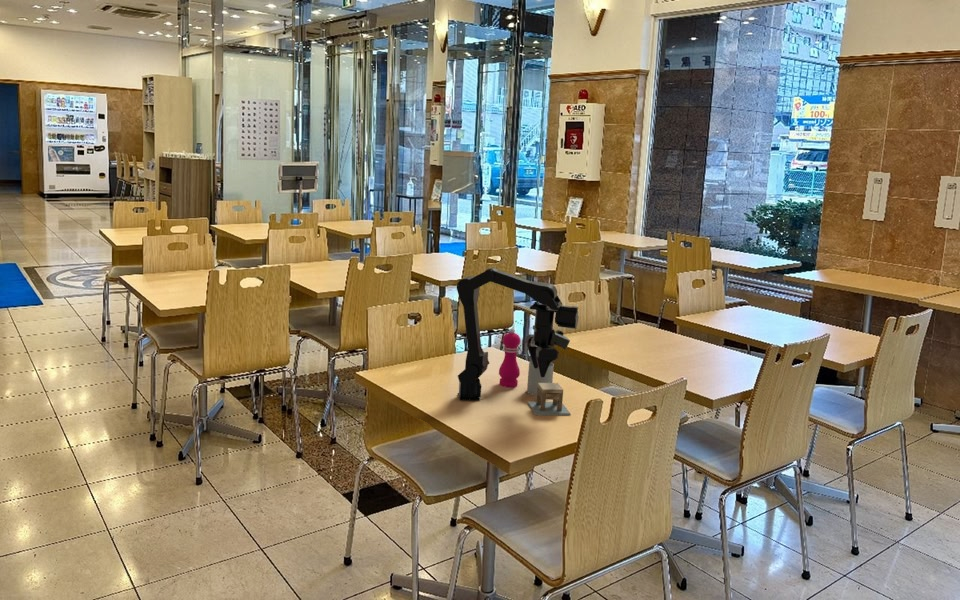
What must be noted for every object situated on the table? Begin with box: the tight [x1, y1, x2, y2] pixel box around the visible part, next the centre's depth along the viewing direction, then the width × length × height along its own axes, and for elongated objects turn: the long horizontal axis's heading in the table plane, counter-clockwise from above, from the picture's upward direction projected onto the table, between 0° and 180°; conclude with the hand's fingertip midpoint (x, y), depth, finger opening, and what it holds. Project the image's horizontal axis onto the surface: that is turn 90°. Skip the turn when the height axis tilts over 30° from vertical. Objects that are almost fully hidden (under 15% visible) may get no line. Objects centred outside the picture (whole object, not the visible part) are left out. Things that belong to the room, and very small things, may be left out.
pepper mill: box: [498, 328, 521, 388], centre depth 266 cm, size 7×7×20 cm
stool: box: [535, 382, 564, 411], centre depth 244 cm, size 7×7×7 cm
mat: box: [527, 401, 571, 416], centre depth 245 cm, size 11×11×1 cm
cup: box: [526, 360, 555, 397], centre depth 261 cm, size 8×8×10 cm
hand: (539, 372), depth 244 cm, fingers open, 9 cm apart
